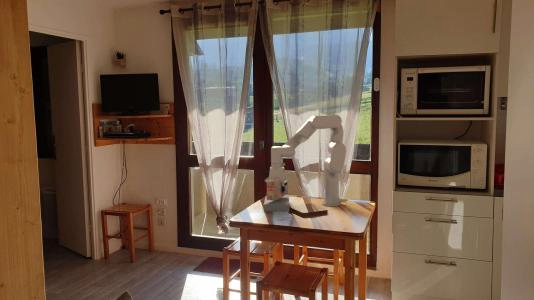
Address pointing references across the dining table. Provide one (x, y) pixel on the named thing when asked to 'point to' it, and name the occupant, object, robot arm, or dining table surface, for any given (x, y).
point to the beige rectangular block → (275, 189)
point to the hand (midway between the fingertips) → (277, 192)
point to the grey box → (277, 204)
